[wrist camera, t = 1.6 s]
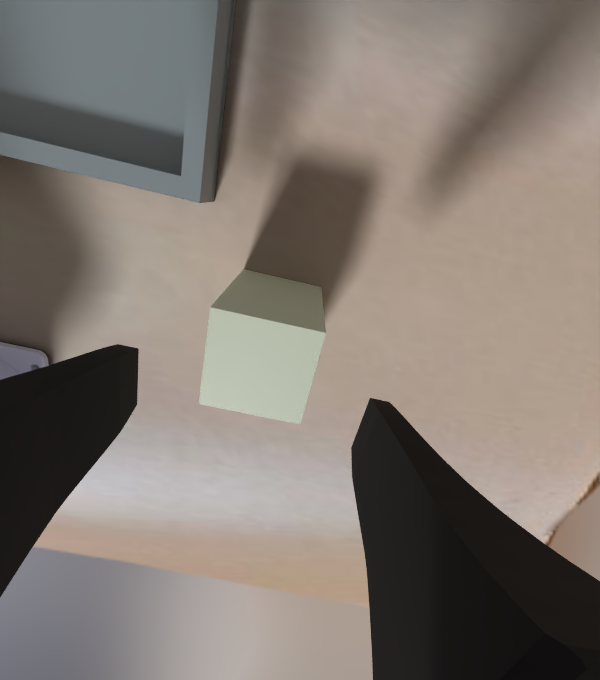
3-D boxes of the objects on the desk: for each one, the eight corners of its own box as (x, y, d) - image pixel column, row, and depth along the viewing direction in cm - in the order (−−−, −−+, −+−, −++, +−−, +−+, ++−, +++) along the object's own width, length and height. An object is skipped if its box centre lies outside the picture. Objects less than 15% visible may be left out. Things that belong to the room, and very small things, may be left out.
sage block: (303, 355, 18) (300, 424, 13) (232, 340, 18) (198, 403, 13) (321, 287, 17) (325, 332, 11) (243, 269, 17) (210, 307, 11)
